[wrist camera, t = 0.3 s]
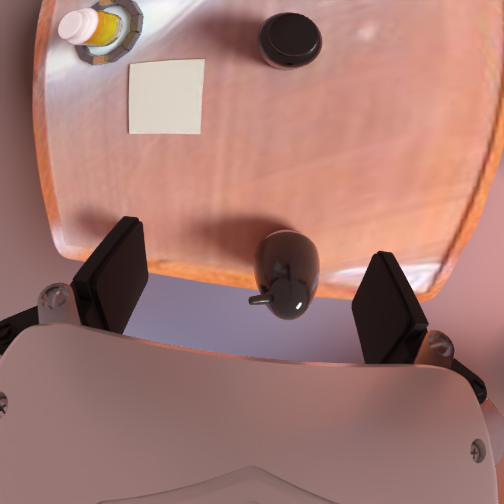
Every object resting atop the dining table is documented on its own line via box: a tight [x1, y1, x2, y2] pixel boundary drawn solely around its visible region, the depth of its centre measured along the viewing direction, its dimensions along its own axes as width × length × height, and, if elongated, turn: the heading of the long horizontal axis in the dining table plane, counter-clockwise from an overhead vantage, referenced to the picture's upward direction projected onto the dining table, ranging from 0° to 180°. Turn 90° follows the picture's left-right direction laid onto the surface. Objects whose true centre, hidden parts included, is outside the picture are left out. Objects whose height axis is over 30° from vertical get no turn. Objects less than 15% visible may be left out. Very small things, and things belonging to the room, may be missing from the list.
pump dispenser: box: [249, 230, 320, 320], centre depth 40 cm, size 10×10×15 cm
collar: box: [74, 0, 143, 65], centre depth 26 cm, size 11×11×2 cm
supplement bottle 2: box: [258, 12, 322, 70], centre depth 24 cm, size 7×7×12 cm
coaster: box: [129, 59, 205, 134], centre depth 33 cm, size 11×11×1 cm
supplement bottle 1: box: [58, 8, 123, 46], centre depth 22 cm, size 6×6×10 cm
